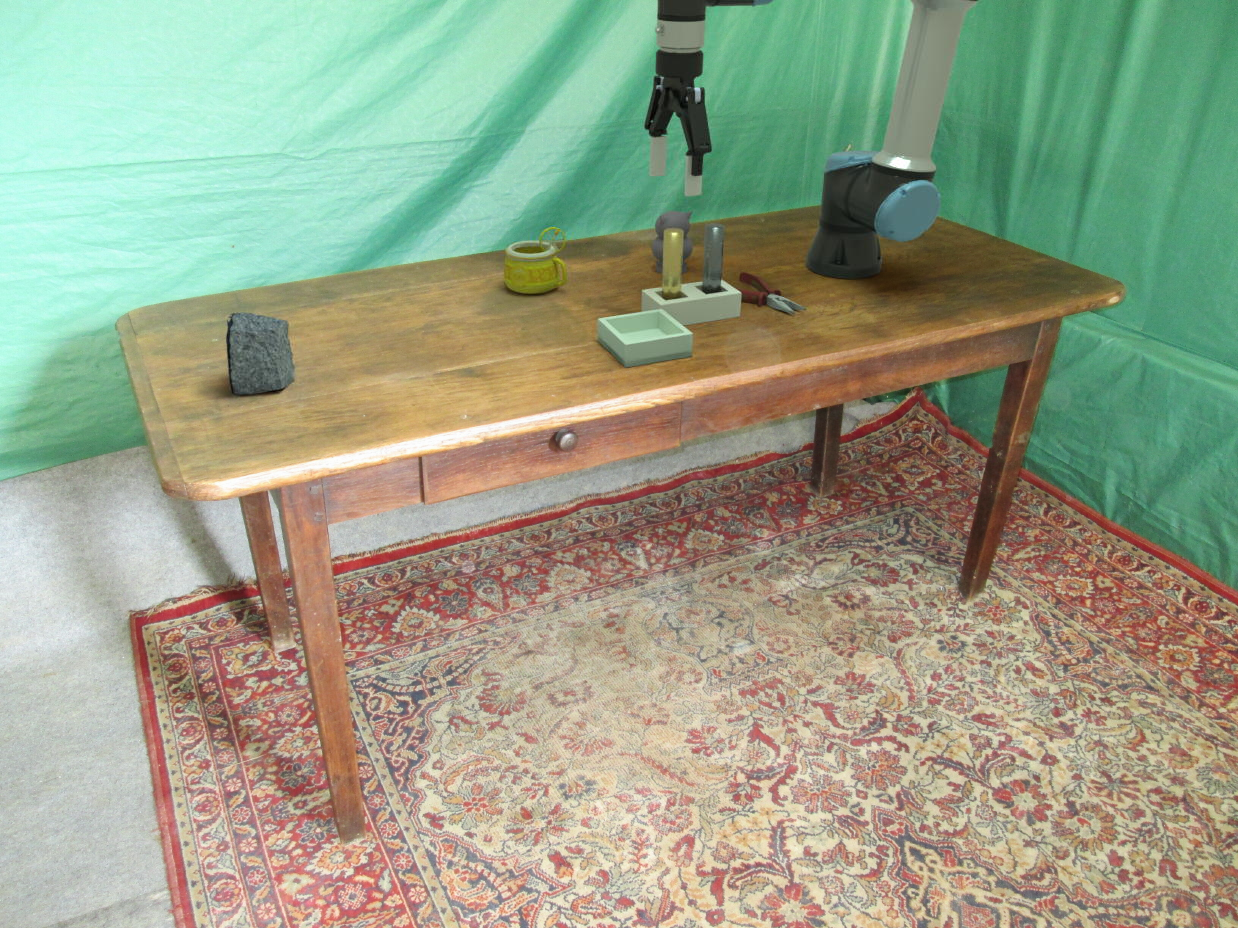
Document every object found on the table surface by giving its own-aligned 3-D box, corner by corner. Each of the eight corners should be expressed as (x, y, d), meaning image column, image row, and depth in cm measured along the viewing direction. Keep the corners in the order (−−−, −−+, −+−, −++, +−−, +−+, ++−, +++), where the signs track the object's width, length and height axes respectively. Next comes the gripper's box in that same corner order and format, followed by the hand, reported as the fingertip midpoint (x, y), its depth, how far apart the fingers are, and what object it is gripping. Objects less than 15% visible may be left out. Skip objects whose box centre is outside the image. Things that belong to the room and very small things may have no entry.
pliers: (778, 325, 176) (779, 311, 175) (701, 294, 190) (702, 281, 189) (821, 311, 183) (822, 297, 181) (743, 282, 196) (744, 269, 195)
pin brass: (675, 313, 180) (678, 227, 172) (683, 320, 177) (687, 232, 169) (658, 316, 178) (660, 229, 170) (666, 322, 176) (669, 235, 168)
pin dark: (714, 307, 182) (719, 222, 174) (722, 314, 180) (728, 227, 172) (697, 310, 181) (701, 224, 173) (706, 316, 178) (710, 229, 170)
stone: (221, 405, 151) (236, 361, 157) (288, 413, 152) (300, 369, 159) (214, 347, 142) (231, 303, 149) (285, 357, 144) (299, 313, 150)
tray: (661, 330, 173) (661, 308, 171) (691, 356, 163) (693, 333, 161) (597, 340, 169) (597, 318, 167) (625, 367, 159) (625, 344, 157)
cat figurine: (678, 261, 205) (680, 203, 199) (699, 272, 199) (702, 213, 193) (643, 268, 201) (644, 209, 195) (664, 279, 195) (666, 219, 189)
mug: (494, 293, 188) (490, 231, 182) (520, 275, 197) (517, 216, 191) (554, 302, 184) (553, 239, 178) (578, 284, 193) (577, 223, 187)
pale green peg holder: (719, 301, 185) (720, 278, 183) (739, 316, 179) (741, 293, 176) (641, 313, 179) (641, 290, 177) (659, 329, 173) (660, 305, 171)
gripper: (626, 40, 164) (624, 170, 174) (694, 61, 144) (687, 206, 154) (667, 38, 166) (663, 166, 177) (739, 59, 146) (730, 201, 157)
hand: (674, 185), depth 166 cm, fingers open, 13 cm apart
